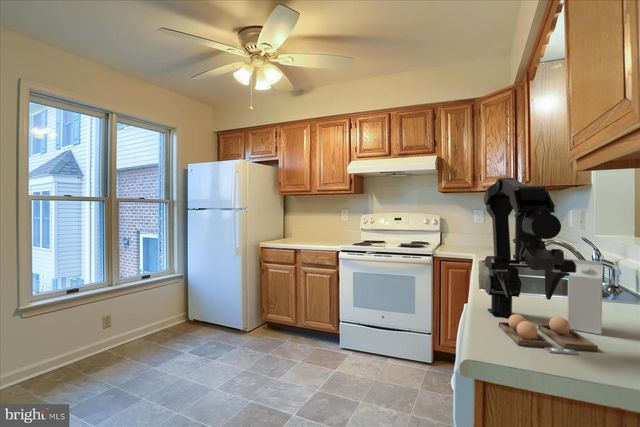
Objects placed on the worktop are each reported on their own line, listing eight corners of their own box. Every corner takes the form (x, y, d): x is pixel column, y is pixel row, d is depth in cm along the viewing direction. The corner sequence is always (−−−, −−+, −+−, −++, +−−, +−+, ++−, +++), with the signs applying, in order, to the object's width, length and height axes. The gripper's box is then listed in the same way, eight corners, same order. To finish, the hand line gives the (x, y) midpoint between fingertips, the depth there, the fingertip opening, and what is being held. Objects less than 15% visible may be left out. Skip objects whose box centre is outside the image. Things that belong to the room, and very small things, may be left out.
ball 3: (545, 329, 87) (545, 313, 87) (563, 331, 86) (564, 314, 86) (554, 336, 82) (554, 319, 82) (573, 337, 82) (573, 320, 82)
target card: (544, 348, 76) (544, 346, 76) (572, 350, 75) (572, 348, 75) (549, 352, 74) (549, 351, 74) (578, 354, 73) (578, 353, 73)
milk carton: (568, 322, 94) (569, 257, 94) (600, 327, 90) (601, 260, 89) (567, 329, 89) (568, 260, 88) (601, 335, 84) (602, 263, 84)
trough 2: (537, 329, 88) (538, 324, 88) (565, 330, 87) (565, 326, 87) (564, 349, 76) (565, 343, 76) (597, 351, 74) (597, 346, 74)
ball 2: (513, 335, 83) (513, 318, 83) (532, 336, 82) (532, 319, 82) (521, 342, 79) (521, 324, 79) (541, 343, 78) (540, 325, 78)
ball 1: (505, 327, 89) (505, 311, 88) (523, 328, 88) (523, 312, 88) (512, 333, 84) (512, 316, 84) (530, 334, 83) (530, 317, 83)
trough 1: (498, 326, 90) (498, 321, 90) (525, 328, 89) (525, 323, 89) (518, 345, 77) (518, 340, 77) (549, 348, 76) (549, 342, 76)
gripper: (499, 237, 74) (499, 305, 74) (591, 239, 71) (591, 310, 71) (484, 234, 85) (483, 293, 85) (563, 235, 81) (562, 297, 82)
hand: (527, 298), depth 80 cm, fingers open, 9 cm apart
